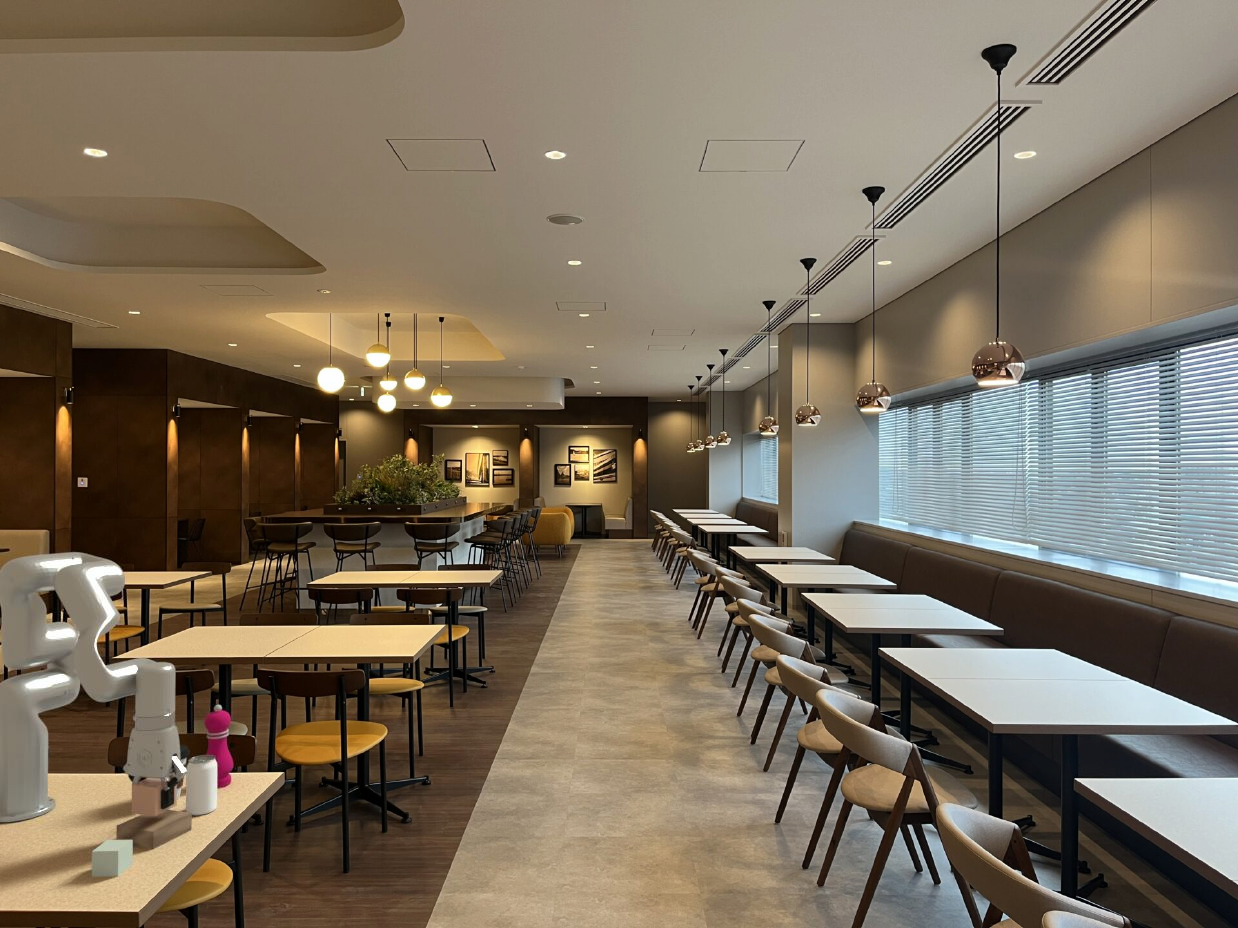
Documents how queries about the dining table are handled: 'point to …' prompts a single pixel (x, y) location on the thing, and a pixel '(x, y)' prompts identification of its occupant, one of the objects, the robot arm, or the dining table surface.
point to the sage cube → (112, 858)
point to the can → (201, 785)
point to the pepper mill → (219, 744)
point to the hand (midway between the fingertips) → (154, 804)
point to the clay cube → (149, 797)
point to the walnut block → (155, 828)
